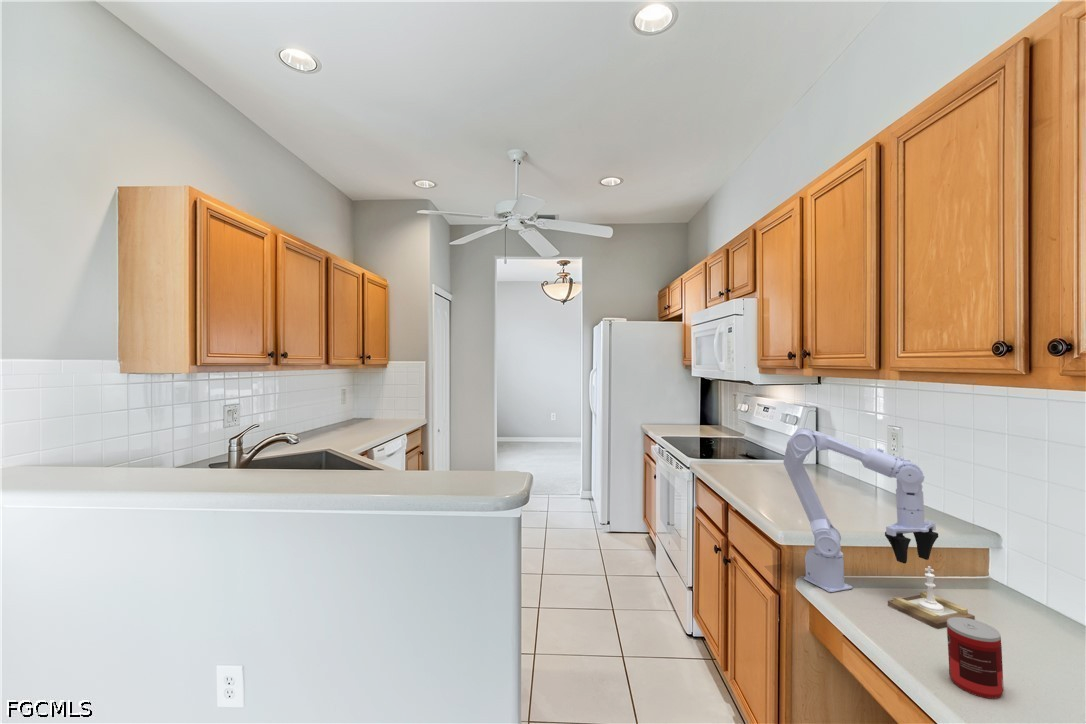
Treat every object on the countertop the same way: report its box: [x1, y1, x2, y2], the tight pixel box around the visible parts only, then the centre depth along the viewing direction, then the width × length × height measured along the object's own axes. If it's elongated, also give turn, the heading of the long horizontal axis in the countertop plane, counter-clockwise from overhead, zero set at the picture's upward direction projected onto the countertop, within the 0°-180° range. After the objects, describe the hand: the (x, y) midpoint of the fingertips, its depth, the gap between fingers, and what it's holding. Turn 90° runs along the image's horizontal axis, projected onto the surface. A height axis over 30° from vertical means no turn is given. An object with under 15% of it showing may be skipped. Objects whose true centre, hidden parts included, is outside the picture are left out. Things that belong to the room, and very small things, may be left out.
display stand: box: [887, 591, 976, 630], centre depth 119 cm, size 12×12×2 cm
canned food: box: [946, 617, 1005, 699], centre depth 91 cm, size 8×8×11 cm
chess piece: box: [919, 565, 944, 612], centre depth 118 cm, size 5×5×10 cm
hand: (912, 560), depth 125 cm, fingers open, 7 cm apart
